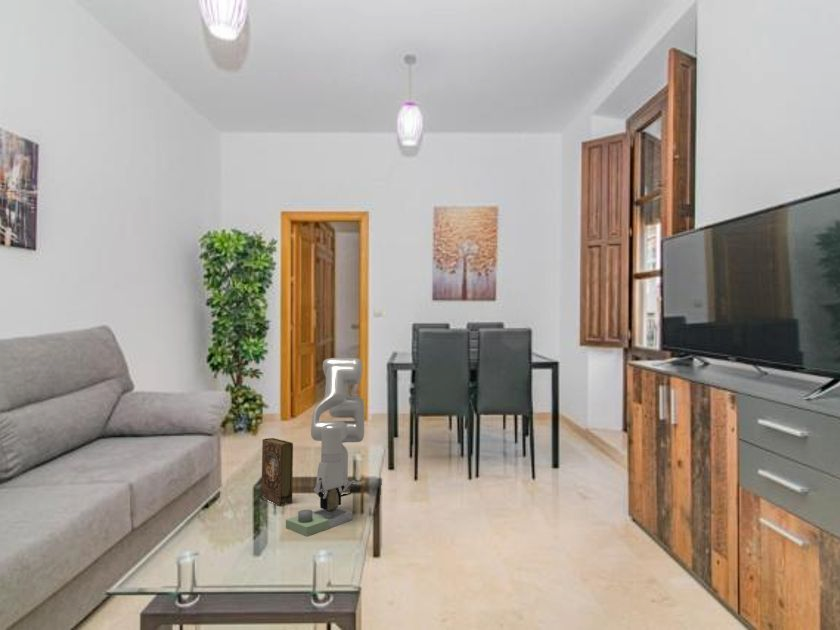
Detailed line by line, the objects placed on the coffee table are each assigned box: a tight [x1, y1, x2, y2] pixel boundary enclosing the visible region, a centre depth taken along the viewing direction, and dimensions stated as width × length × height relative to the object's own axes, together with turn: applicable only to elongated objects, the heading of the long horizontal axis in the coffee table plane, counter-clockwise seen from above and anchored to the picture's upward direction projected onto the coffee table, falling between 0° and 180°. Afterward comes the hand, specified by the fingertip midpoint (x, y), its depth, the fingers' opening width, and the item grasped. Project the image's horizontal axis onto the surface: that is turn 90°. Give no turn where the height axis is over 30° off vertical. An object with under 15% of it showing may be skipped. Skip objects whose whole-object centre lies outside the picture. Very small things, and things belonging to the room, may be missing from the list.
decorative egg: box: [325, 488, 339, 512], centre depth 193 cm, size 6×6×10 cm
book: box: [260, 437, 294, 507], centre depth 217 cm, size 16×6×25 cm, turn 47°
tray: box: [312, 506, 353, 529], centre depth 193 cm, size 11×11×3 cm
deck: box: [285, 509, 330, 537], centre depth 185 cm, size 10×12×6 cm
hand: (330, 505), depth 193 cm, fingers closed on decorative egg, 6 cm apart
